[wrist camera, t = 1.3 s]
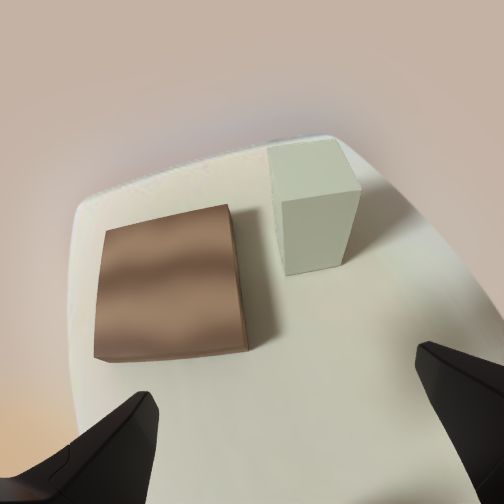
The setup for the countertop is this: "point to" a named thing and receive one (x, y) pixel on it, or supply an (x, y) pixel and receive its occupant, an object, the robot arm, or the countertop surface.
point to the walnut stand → (170, 290)
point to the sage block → (312, 203)
